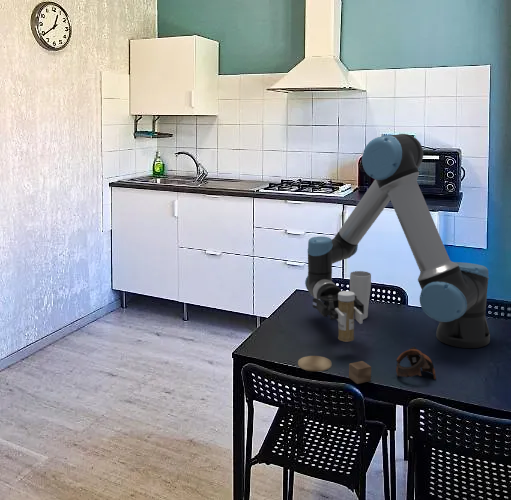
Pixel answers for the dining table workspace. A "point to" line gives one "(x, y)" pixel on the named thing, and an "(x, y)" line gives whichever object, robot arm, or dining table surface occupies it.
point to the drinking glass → (361, 288)
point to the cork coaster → (314, 363)
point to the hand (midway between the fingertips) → (352, 319)
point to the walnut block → (359, 372)
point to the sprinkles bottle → (346, 315)
